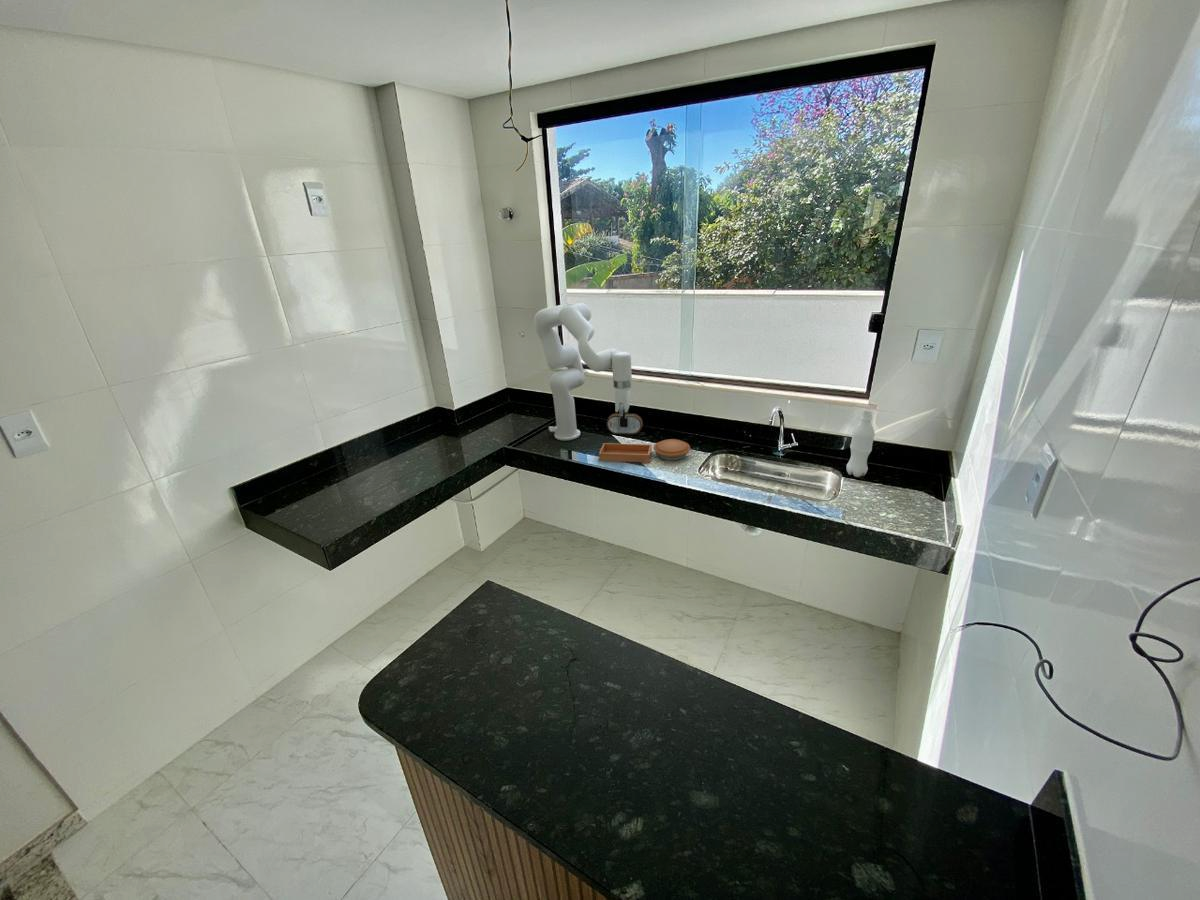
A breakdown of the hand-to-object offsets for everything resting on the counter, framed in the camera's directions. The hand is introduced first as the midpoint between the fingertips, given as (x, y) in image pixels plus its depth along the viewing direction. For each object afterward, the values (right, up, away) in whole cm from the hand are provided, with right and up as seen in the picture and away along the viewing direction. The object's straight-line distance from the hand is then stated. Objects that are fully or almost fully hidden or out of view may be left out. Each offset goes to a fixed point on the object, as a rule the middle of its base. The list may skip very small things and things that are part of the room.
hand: (624, 424), depth 203 cm
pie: (+21, -13, +5) cm, 25 cm away
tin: (0, -4, +1) cm, 4 cm away
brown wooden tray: (+1, -13, +6) cm, 15 cm away
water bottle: (+87, -20, -19) cm, 91 cm away
